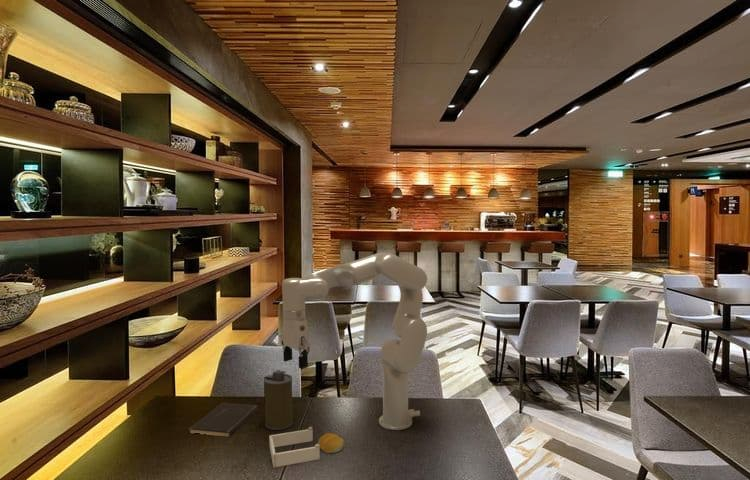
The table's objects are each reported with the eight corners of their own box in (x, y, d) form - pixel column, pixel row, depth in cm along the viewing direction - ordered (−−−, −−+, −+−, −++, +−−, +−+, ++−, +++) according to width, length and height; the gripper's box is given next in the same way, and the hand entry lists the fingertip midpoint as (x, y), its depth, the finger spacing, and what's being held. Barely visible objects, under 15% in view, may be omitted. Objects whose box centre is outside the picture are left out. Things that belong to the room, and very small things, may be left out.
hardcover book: (188, 434, 159) (188, 428, 158) (222, 407, 181) (222, 402, 181) (229, 438, 156) (229, 432, 155) (258, 410, 178) (258, 405, 178)
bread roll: (329, 457, 143) (329, 445, 142) (314, 446, 149) (314, 434, 149) (349, 448, 148) (349, 436, 148) (334, 438, 155) (333, 427, 155)
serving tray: (312, 439, 154) (312, 426, 153) (319, 459, 141) (319, 445, 141) (269, 446, 149) (269, 433, 149) (273, 467, 136) (273, 453, 136)
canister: (298, 419, 169) (297, 368, 168) (284, 432, 159) (283, 377, 158) (273, 415, 173) (272, 365, 172) (258, 427, 163) (257, 374, 162)
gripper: (317, 316, 146) (319, 367, 146) (290, 309, 158) (291, 355, 159) (298, 320, 141) (299, 372, 141) (271, 312, 153) (273, 360, 154)
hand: (295, 363), depth 150 cm, fingers open, 9 cm apart
